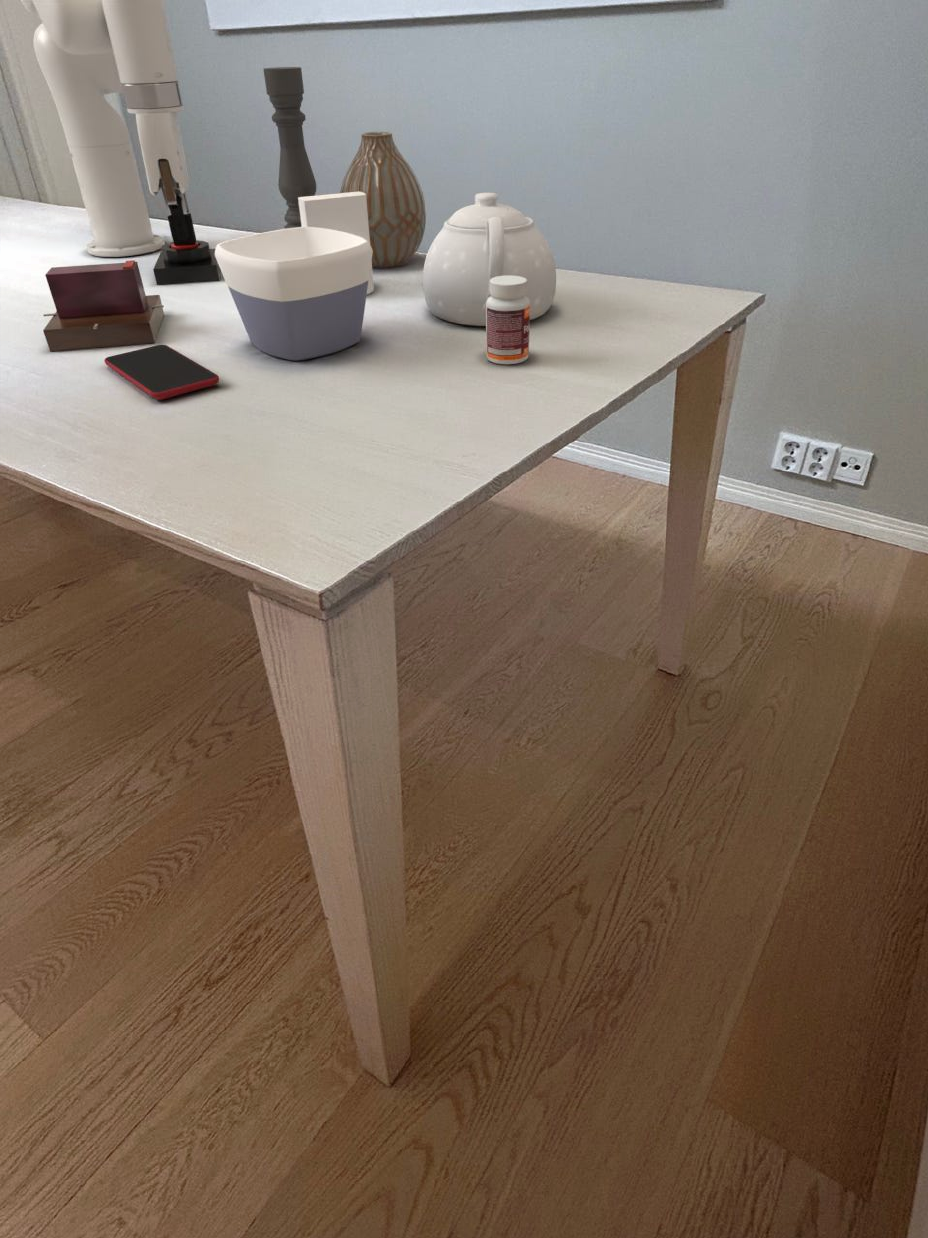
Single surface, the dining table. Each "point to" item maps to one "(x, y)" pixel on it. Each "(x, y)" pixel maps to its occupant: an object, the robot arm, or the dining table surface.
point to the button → (184, 246)
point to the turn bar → (97, 289)
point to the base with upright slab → (338, 216)
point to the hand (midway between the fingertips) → (185, 243)
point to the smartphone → (162, 371)
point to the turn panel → (105, 328)
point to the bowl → (298, 289)
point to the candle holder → (290, 138)
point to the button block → (186, 265)
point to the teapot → (486, 261)
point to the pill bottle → (507, 320)
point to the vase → (388, 199)
